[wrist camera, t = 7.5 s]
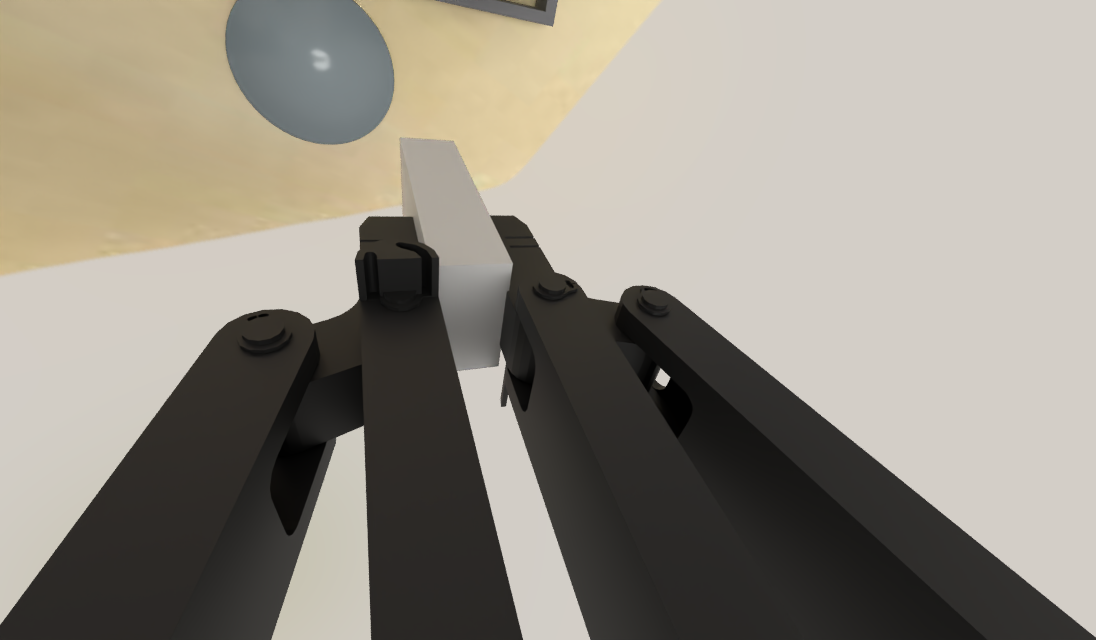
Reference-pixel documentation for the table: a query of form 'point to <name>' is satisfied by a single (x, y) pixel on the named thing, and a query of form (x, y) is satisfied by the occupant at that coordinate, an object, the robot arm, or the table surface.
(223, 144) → the table surface
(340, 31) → the slate coaster
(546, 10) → the square picture frame
